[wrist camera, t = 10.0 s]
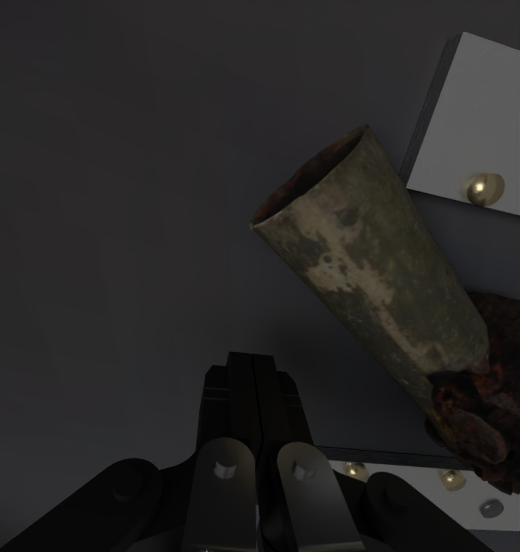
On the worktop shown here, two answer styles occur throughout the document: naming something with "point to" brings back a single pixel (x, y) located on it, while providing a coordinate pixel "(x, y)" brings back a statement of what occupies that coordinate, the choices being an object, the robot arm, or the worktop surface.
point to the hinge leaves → (475, 190)
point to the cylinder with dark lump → (404, 299)
